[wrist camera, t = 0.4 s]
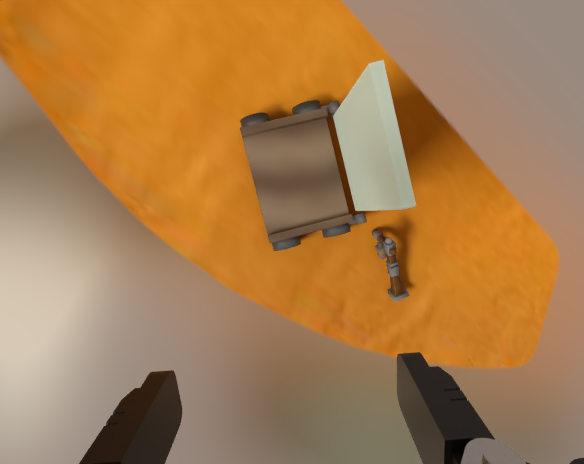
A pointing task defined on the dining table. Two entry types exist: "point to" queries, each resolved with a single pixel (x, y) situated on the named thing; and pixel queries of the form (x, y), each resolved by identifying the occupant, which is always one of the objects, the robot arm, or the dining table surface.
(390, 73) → the dining table surface
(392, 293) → the wooden post with brackets
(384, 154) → the panel
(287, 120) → the flatbed
